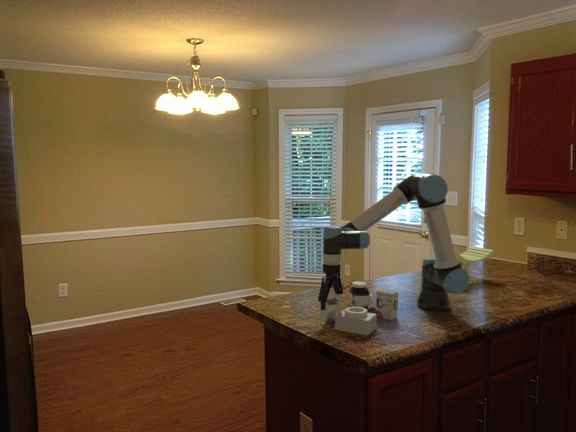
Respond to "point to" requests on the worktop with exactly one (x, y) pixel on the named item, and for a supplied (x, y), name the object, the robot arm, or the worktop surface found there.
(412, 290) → the worktop surface
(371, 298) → the spread jar
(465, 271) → the robot arm
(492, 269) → the worktop surface
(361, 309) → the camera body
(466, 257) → the slatted curved stool
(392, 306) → the ink box
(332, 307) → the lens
